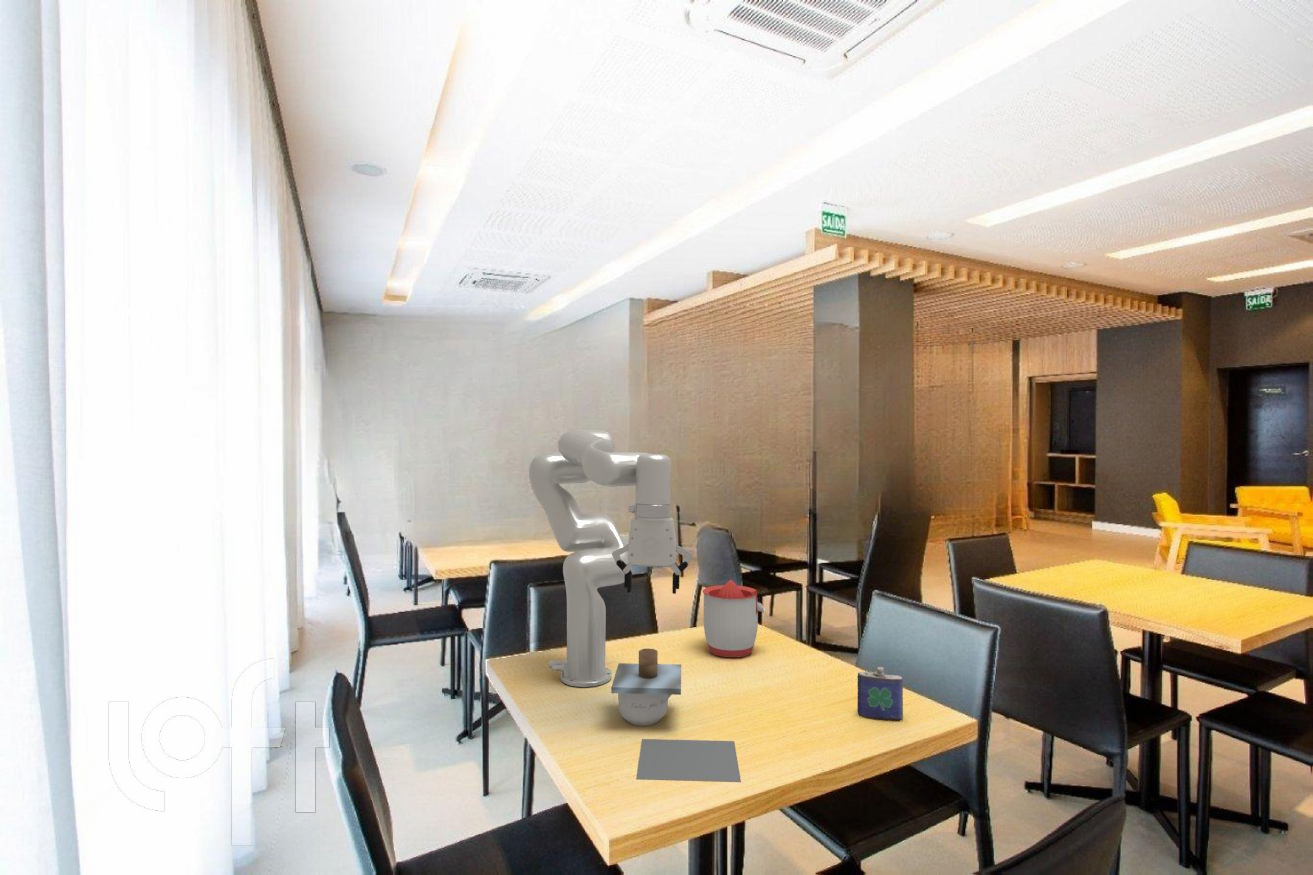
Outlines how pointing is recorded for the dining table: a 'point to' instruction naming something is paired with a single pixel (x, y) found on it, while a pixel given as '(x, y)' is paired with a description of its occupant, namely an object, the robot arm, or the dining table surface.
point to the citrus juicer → (731, 619)
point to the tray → (688, 760)
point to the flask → (880, 695)
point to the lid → (647, 676)
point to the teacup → (643, 707)
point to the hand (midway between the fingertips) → (651, 591)
